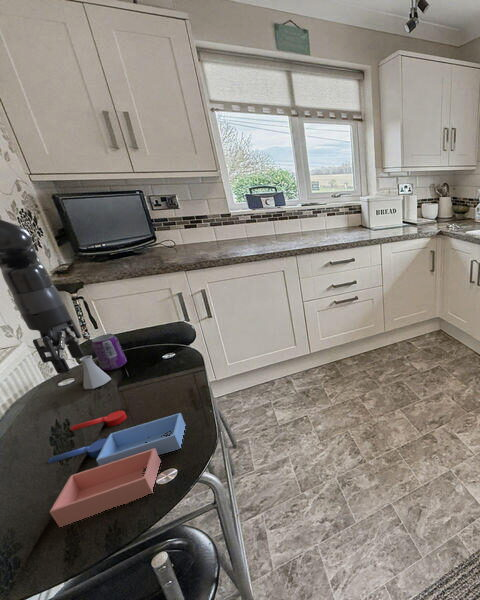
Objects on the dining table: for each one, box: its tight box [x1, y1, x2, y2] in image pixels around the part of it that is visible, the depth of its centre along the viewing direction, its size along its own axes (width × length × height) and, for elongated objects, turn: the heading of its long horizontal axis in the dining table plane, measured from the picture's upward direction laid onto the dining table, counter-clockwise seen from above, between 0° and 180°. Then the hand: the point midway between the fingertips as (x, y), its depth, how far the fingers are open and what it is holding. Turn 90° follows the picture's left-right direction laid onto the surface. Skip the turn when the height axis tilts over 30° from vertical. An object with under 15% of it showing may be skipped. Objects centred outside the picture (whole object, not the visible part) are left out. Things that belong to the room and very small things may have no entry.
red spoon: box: [70, 410, 128, 431], centre depth 89 cm, size 12×4×2 cm, turn 115°
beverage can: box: [91, 333, 128, 371], centre depth 118 cm, size 7×7×12 cm
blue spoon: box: [47, 437, 108, 464], centre depth 79 cm, size 12×4×2 cm, turn 115°
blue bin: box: [95, 412, 187, 467], centre depth 79 cm, size 15×9×4 cm, turn 115°
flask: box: [79, 355, 112, 390], centre depth 108 cm, size 7×7×10 cm
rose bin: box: [49, 448, 162, 528], centre depth 68 cm, size 15×9×4 cm, turn 115°
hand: (71, 364), depth 84 cm, fingers open, 8 cm apart
